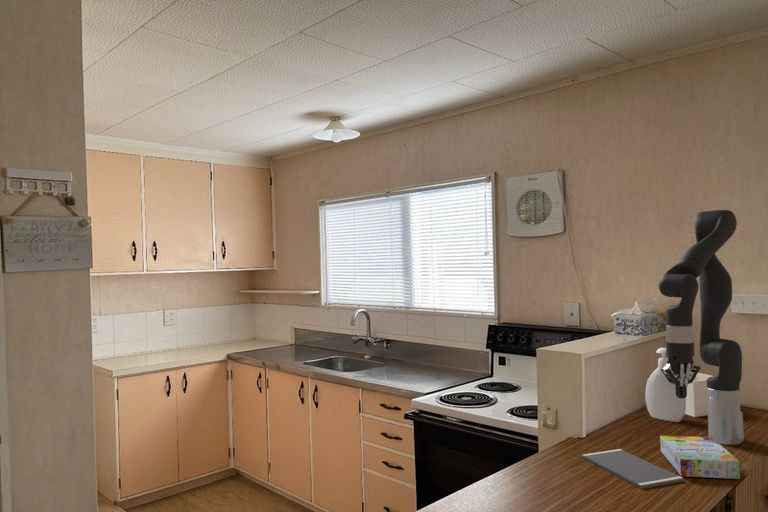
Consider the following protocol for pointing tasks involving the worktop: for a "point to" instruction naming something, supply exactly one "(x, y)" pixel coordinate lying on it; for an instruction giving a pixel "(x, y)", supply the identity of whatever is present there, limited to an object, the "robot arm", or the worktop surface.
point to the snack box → (699, 457)
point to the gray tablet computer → (632, 468)
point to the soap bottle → (663, 394)
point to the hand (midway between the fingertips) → (681, 397)
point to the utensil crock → (697, 396)
